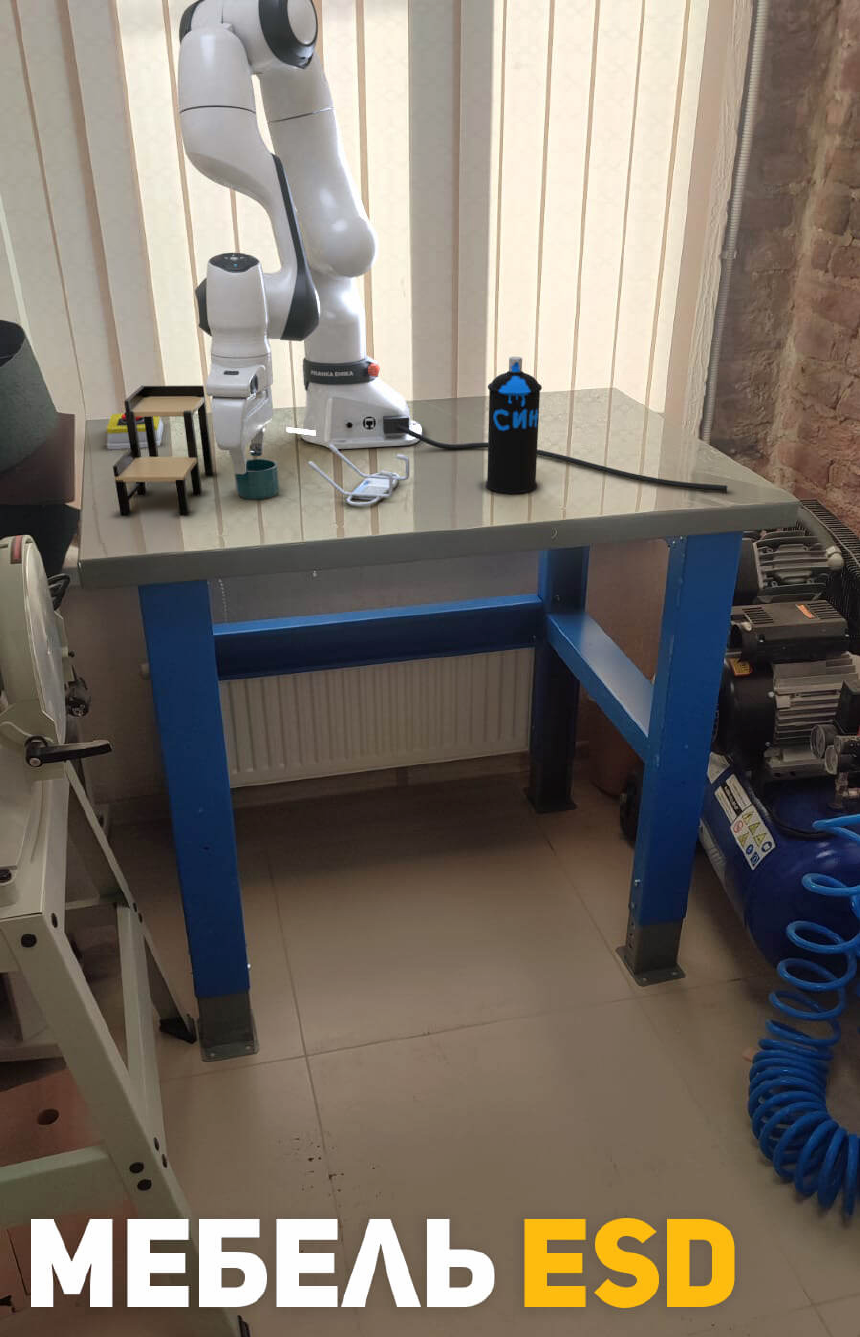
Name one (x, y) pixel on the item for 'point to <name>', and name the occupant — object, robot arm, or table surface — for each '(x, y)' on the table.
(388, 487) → the wall mount rack
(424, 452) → the table surface
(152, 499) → the table surface
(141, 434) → the emergency button
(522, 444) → the aerosol can
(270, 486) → the cup
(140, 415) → the rack
